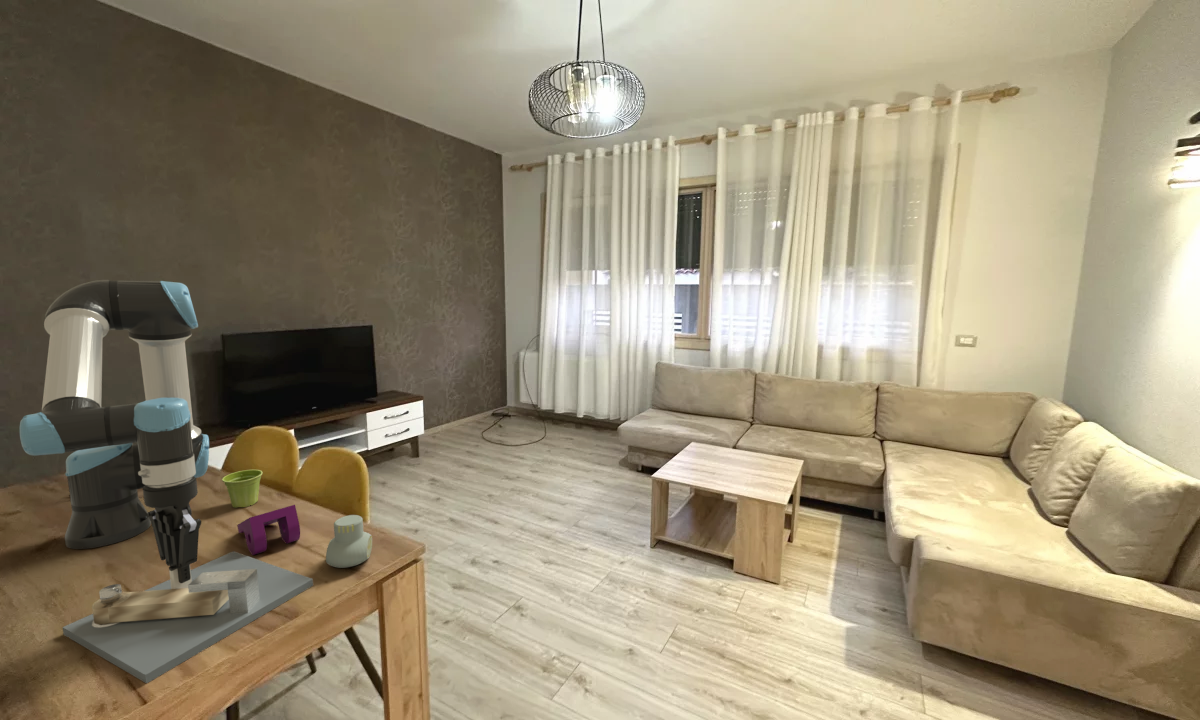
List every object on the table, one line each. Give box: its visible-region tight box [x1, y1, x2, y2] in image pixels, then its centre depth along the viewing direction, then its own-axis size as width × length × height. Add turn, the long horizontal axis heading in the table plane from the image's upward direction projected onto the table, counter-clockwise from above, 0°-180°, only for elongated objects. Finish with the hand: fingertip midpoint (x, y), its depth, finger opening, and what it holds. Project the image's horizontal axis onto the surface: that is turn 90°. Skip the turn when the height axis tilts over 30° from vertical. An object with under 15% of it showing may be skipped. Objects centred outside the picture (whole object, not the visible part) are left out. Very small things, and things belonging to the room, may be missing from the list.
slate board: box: [62, 550, 314, 684], centre depth 93 cm, size 27×28×2 cm
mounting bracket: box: [236, 504, 301, 556], centre depth 119 cm, size 9×8×18 cm
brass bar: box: [91, 588, 229, 624], centre depth 88 cm, size 20×5×3 cm, turn 99°
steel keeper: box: [188, 569, 260, 614], centre depth 90 cm, size 10×4×6 cm, turn 99°
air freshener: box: [325, 514, 373, 569], centre depth 109 cm, size 11×8×10 cm
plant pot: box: [221, 469, 263, 508], centre depth 138 cm, size 9×9×9 cm
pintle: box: [92, 583, 123, 628], centre depth 87 cm, size 6×6×6 cm
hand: (182, 595), depth 93 cm, fingers closed
